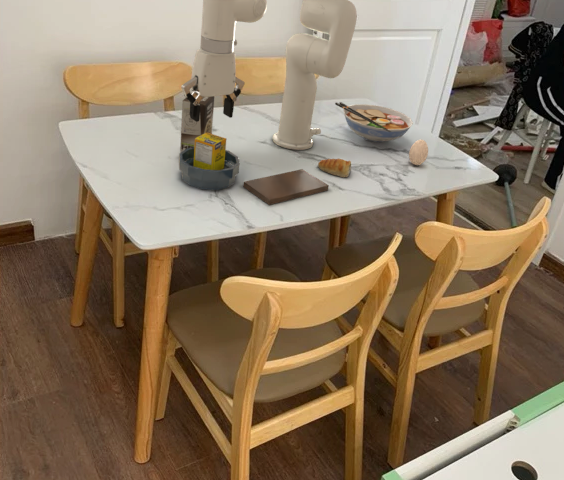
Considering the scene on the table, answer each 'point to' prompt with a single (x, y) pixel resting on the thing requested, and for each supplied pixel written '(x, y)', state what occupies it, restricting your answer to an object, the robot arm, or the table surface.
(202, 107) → the coffee box
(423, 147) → the egg
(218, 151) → the supplement box
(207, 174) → the bowl
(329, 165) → the pastry
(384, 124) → the ramen bowl
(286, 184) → the walnut board
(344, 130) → the table surface
